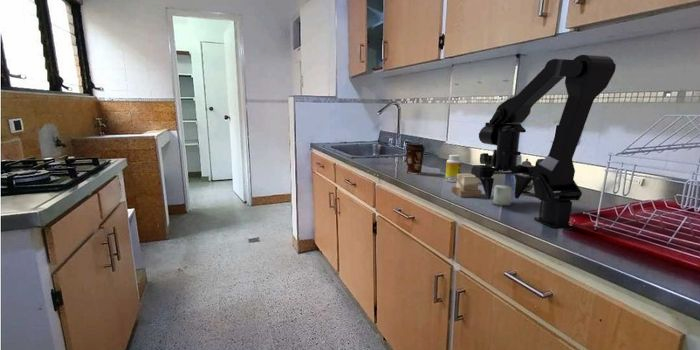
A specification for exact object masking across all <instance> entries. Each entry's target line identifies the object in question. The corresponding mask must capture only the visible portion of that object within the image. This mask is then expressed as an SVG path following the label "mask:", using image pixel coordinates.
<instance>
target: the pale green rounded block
mask: <svg viewBox="0 0 700 350" xmlns="http://www.w3.org/2000/svg"><path fill="white" fill-rule="evenodd" d="M512 192H513V187H512V186H511V185H510V186H509V185H503V184H496V185H494V190H493V201H492V202H493V204H495V205H500V206H510V205H511V203H512V202H511V201H512V194H513V193H512Z"/></svg>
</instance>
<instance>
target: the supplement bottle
mask: <svg viewBox="0 0 700 350" xmlns="http://www.w3.org/2000/svg"><path fill="white" fill-rule="evenodd" d="M460 157H461V156H460V155H459V154H449V155H448V159H447V160H446V164H445V167H446V168H445V181H446V182H449V183H450V182H451V183H457V174H462V171H461V170H462V160H460V159H461V158H460Z"/></svg>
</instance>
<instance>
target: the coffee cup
mask: <svg viewBox="0 0 700 350" xmlns="http://www.w3.org/2000/svg"><path fill="white" fill-rule="evenodd" d="M405 145H406V146H405V150H406V153H405V160H406V166H407V170H406V173H407V172H408V173H407V174H409V173H418V174H417V175H420V174H419V173H421V174H422V168H423V167H422V166H423V161H424V153H425V149H426V148H425V146H424V144H423V143H419V142H418V143H417V142H410V143H409V142H408V143H406V144H405Z"/></svg>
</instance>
